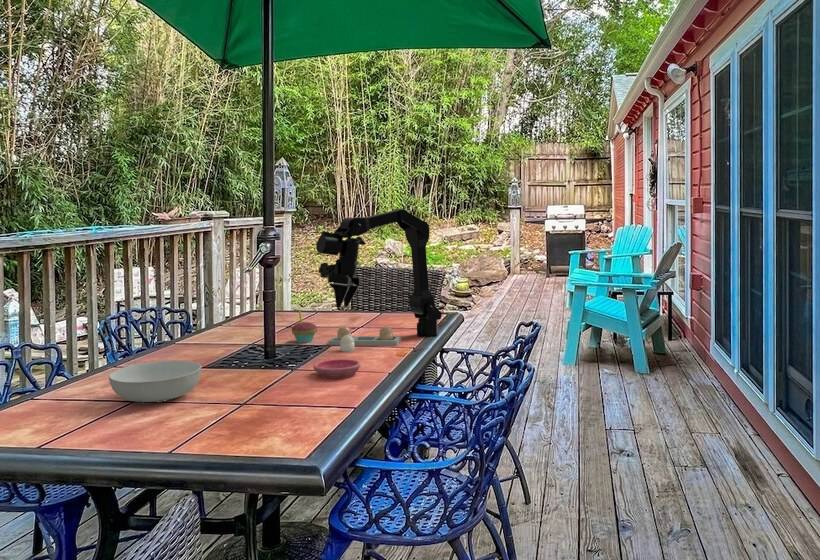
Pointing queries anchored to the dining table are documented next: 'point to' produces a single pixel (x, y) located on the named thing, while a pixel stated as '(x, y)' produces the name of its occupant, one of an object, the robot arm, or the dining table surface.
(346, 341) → the white egg
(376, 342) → the egg carton
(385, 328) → the brown egg
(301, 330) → the cupcake
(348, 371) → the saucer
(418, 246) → the robot arm
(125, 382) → the serving bowl
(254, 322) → the dining table surface
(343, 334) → the brown egg
